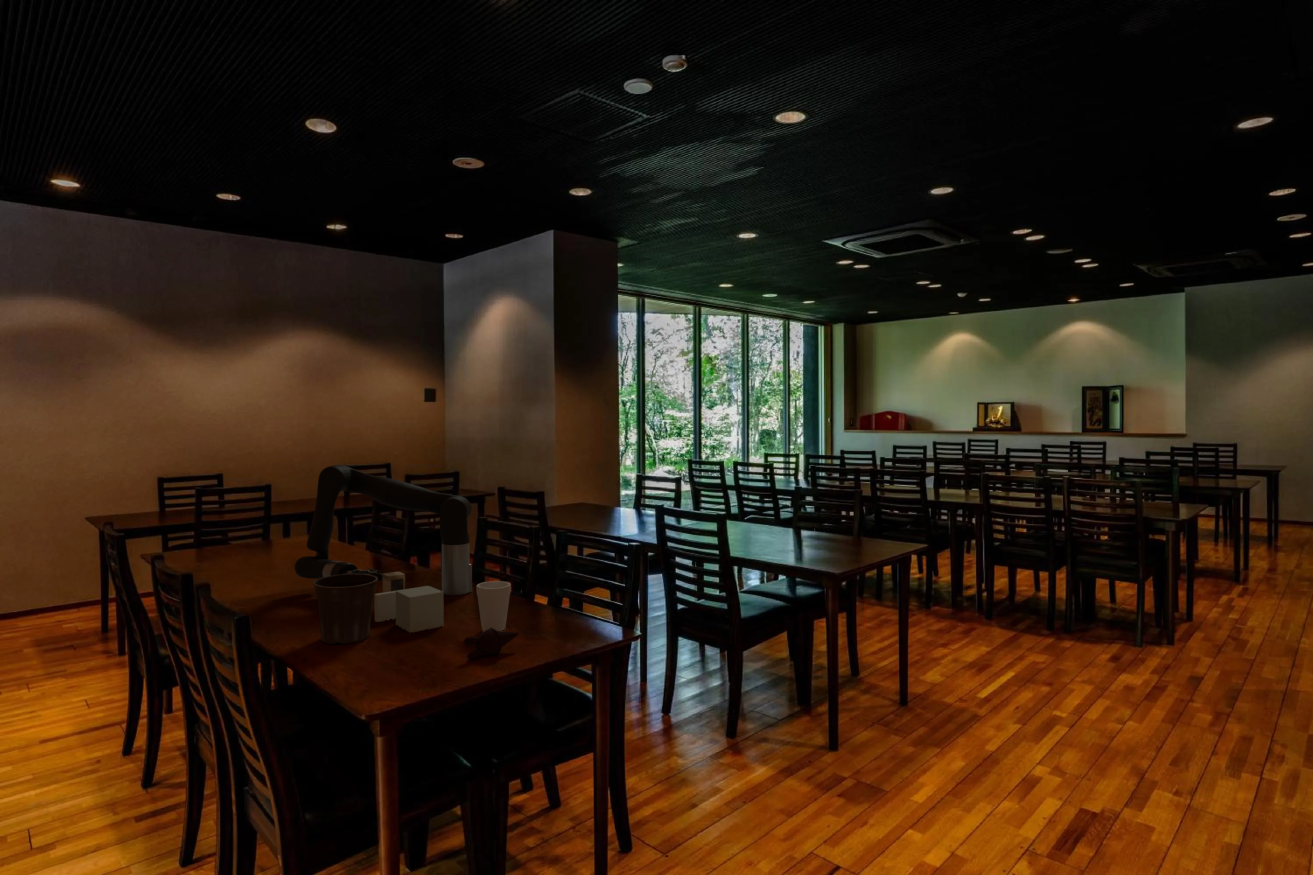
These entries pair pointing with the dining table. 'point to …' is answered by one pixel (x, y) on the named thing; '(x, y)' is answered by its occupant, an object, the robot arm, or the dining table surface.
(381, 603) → the screen
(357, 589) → the plant pot
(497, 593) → the foam cup
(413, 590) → the stand
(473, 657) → the icecream
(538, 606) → the dining table surface
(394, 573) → the birch block
